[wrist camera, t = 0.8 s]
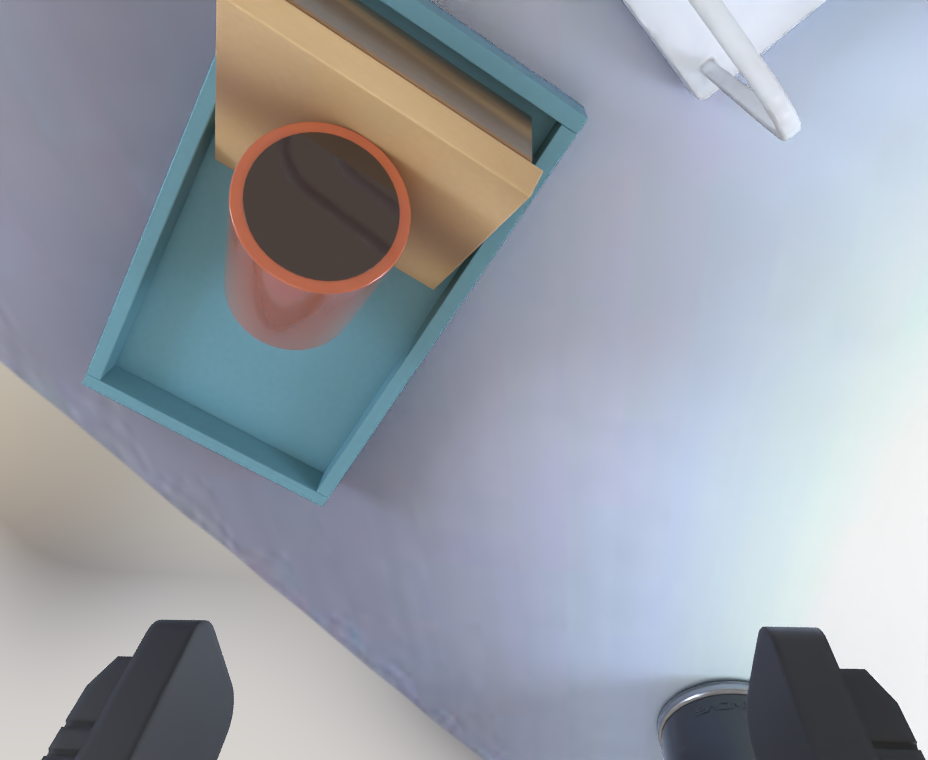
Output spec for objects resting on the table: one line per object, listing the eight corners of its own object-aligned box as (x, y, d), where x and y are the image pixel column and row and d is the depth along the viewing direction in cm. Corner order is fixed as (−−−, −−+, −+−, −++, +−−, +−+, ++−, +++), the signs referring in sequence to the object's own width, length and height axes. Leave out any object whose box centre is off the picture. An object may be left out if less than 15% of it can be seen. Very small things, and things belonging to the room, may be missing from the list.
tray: (332, 479, 45) (322, 507, 43) (105, 361, 42) (81, 384, 40) (584, 107, 34) (588, 118, 31) (294, -94, 31) (275, -98, 28)
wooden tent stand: (435, 284, 38) (410, 374, 30) (220, 154, 36) (129, 215, 28) (541, 121, 34) (545, 175, 26) (305, -39, 31) (226, -35, 23)
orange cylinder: (341, 332, 39) (278, 461, 29) (230, 270, 38) (125, 382, 28) (455, 143, 34) (425, 221, 24) (331, 63, 33) (245, 110, 23)
